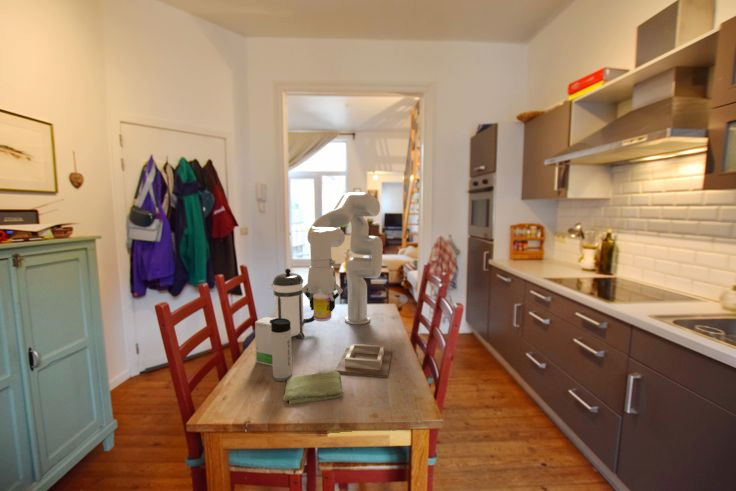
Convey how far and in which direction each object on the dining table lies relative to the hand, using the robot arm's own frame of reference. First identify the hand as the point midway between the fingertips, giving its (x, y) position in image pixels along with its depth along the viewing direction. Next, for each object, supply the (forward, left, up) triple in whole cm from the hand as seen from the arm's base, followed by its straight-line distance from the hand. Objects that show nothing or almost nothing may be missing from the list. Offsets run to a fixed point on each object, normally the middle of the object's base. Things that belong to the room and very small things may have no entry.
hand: (322, 309), depth 123 cm
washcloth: (+23, +4, -19) cm, 30 cm away
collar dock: (+3, +17, -18) cm, 25 cm away
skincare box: (+7, -18, -18) cm, 27 cm away
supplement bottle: (0, 0, -4) cm, 4 cm away
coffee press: (-17, -19, -18) cm, 31 cm away
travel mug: (+17, -9, -18) cm, 27 cm away
